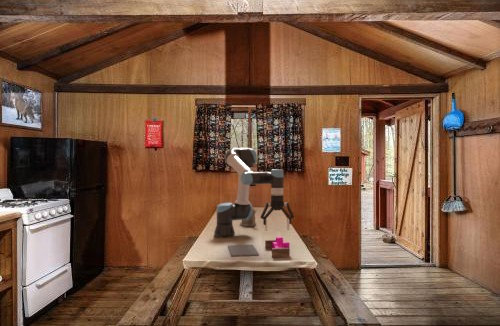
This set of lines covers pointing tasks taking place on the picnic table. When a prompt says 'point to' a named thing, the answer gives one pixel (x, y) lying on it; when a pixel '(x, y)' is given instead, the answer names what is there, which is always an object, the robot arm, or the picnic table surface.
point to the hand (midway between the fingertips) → (277, 230)
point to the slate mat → (242, 250)
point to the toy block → (280, 243)
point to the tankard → (249, 220)
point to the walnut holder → (277, 250)
